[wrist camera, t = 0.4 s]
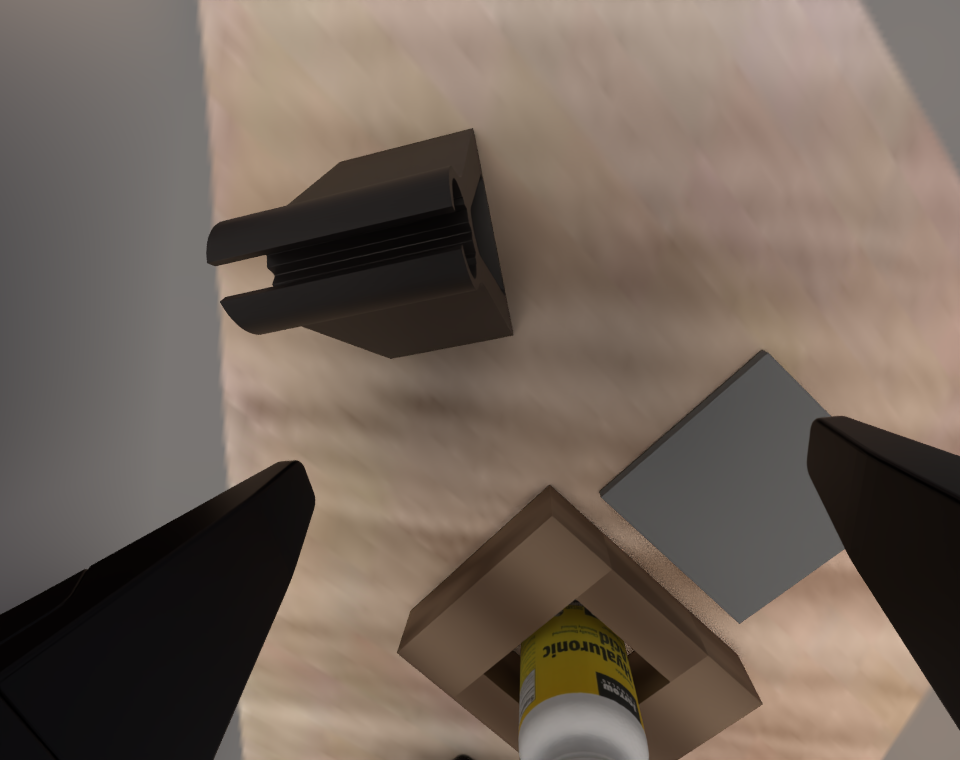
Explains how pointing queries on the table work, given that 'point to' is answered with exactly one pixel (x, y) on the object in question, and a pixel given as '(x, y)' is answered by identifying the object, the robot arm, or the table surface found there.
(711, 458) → the coaster
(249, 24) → the table surface
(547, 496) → the pocket holder
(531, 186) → the table surface
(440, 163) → the phone stand
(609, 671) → the supplement bottle
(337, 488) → the table surface
